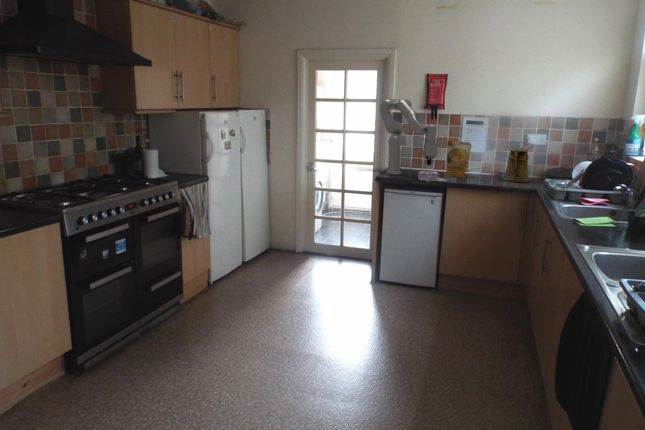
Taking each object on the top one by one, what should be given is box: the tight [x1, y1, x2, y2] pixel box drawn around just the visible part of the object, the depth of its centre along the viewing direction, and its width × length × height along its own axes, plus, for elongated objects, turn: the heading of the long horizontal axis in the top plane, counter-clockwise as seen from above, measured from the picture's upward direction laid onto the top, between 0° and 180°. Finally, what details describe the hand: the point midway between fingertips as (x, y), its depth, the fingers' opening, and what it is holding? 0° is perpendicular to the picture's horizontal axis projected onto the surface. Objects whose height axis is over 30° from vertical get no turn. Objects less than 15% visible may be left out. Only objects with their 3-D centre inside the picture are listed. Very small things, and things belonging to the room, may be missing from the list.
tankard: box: [503, 147, 530, 183], centre depth 368 cm, size 18×24×25 cm
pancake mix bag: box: [445, 140, 472, 179], centre depth 381 cm, size 7×19×28 cm, turn 53°
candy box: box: [417, 169, 439, 182], centre depth 366 cm, size 14×6×16 cm
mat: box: [418, 176, 449, 183], centre depth 367 cm, size 14×18×1 cm
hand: (428, 164), depth 372 cm, fingers closed
